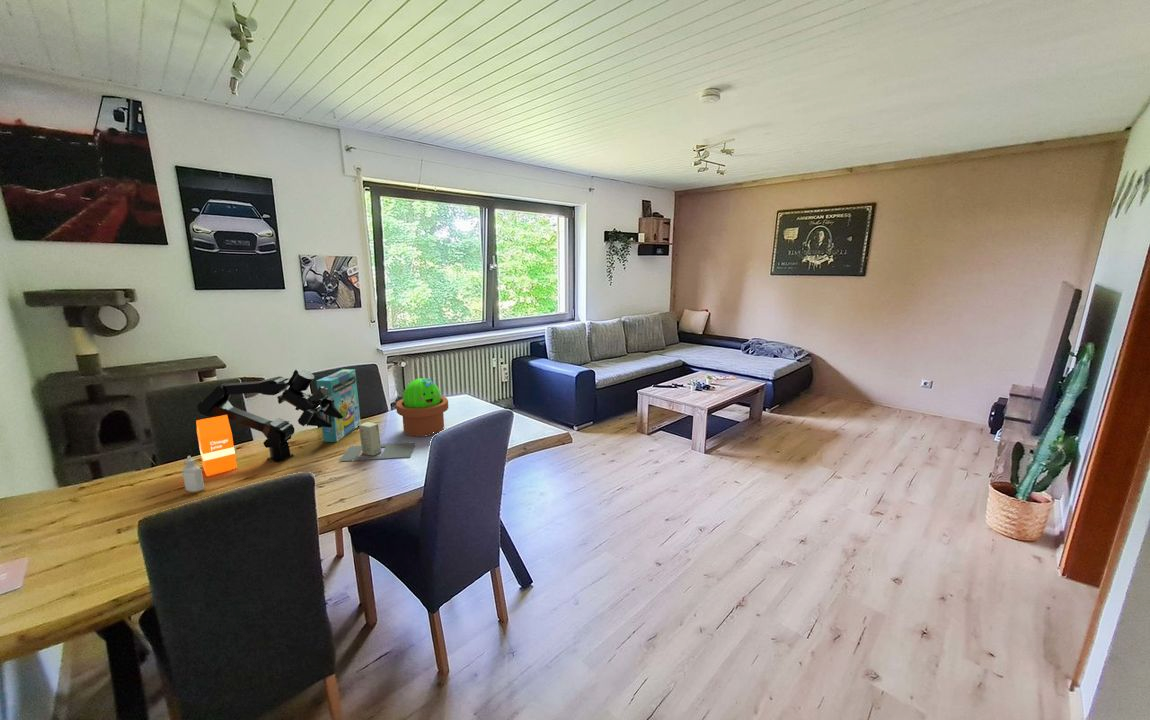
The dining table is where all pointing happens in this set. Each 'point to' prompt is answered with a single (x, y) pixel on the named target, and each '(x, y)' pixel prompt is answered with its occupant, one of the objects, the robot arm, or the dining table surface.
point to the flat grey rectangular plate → (389, 453)
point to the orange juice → (216, 445)
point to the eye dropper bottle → (192, 476)
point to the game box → (341, 404)
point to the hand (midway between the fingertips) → (337, 422)
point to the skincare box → (370, 438)
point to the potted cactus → (422, 408)
